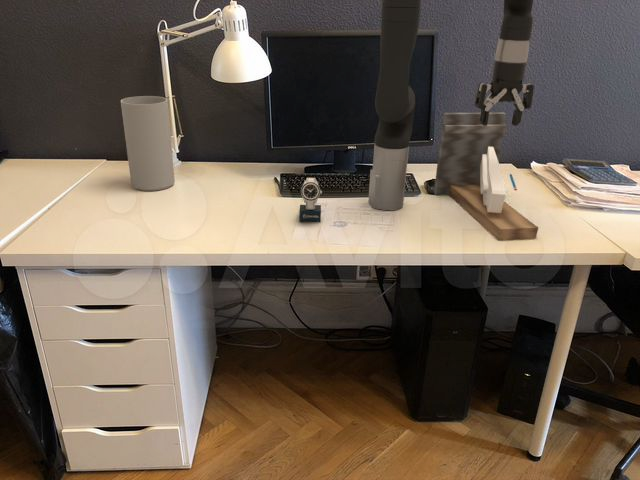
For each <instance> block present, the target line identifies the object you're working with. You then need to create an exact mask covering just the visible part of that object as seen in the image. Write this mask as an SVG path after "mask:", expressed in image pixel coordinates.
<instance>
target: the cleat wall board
mask: <svg viewBox="0 0 640 480" xmlns="http://www.w3.org/2000/svg"><path fill="white" fill-rule="evenodd" d="M480 115H481V112H443V115H442V116H443V117H442V124H441V125H442V126H441V131H440V132H441V133H440V141H439V150H438V157H437V164H436V165H437V166H436V173H435V181H434V189H433V194H434V195H435V196H449V197H451V198H452V200H454V201H455V202H456V203H457V204H458V205H459V206H460V207H462V208H463V209H464V210H465V211H466V212H467V214H469V215H470V216H471V217H472V218H473V219H474V220H475V221H476V222H477V223H479V224H480V225H481V226H482V227H483V228H484V229H485V230H487V232H489V233H490V234H491V235H492V236H493V237H494V238H495V239H496V240H497V241H513V240H517V241H518V240H530V239H531V240H534V238H536V239H537V236H538V230H539V227H538V226H537V225H536V224H534V223H533V222H532V221H530V220H529V219H528V218H526V217H525V216H524V215H523V214H521V213H520V212H519V211H517V210H516V209H514V207H512V206H511V205H509V204H508V203H507V202H506V201H504V203H503V207H502V211H501V213H491V212H487V206H486V205H484V204H483V194H481V189H480V164H481V159H482V154H487V150H488V146H489V147H494V150H495V153H496V156H497V159H498V161H499V159H500V154H501V149H502V148H501V147H502V142H503V137H504V133H505V134H506V133H507V129H508V125H507V124H506V119H507V113H506V112H504V111H503V112H491V111H489V118H488V124H487V126H483V125H481V123H480Z"/></svg>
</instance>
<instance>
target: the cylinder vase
mask: <svg viewBox="0 0 640 480" xmlns="http://www.w3.org/2000/svg"><path fill="white" fill-rule="evenodd" d="M120 106H121V116H122V122H123V123H122V124H123V128H124V129H123V130H124V137H125V145H126V146H125V147H126V154H127V160H128V170H129V176H130V184H131V186H132V187H133V189H135V190H139V191H144V192H153V191H154V192H155V191H163V190H165V189H166V190H167V189H168V188H171V187H172V186H173V185H174V184H175V182H176V181H175V179H176V178H175V169H174V159H173V149H172V137H171V127H170V125H171V124H170V116H169V105H168V98H167V97H163V96H155V95H143V96H142V95H141V96H140V95H139V96H131V97H130V96H129V97H124V98H122V99H121V100H120Z"/></svg>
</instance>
